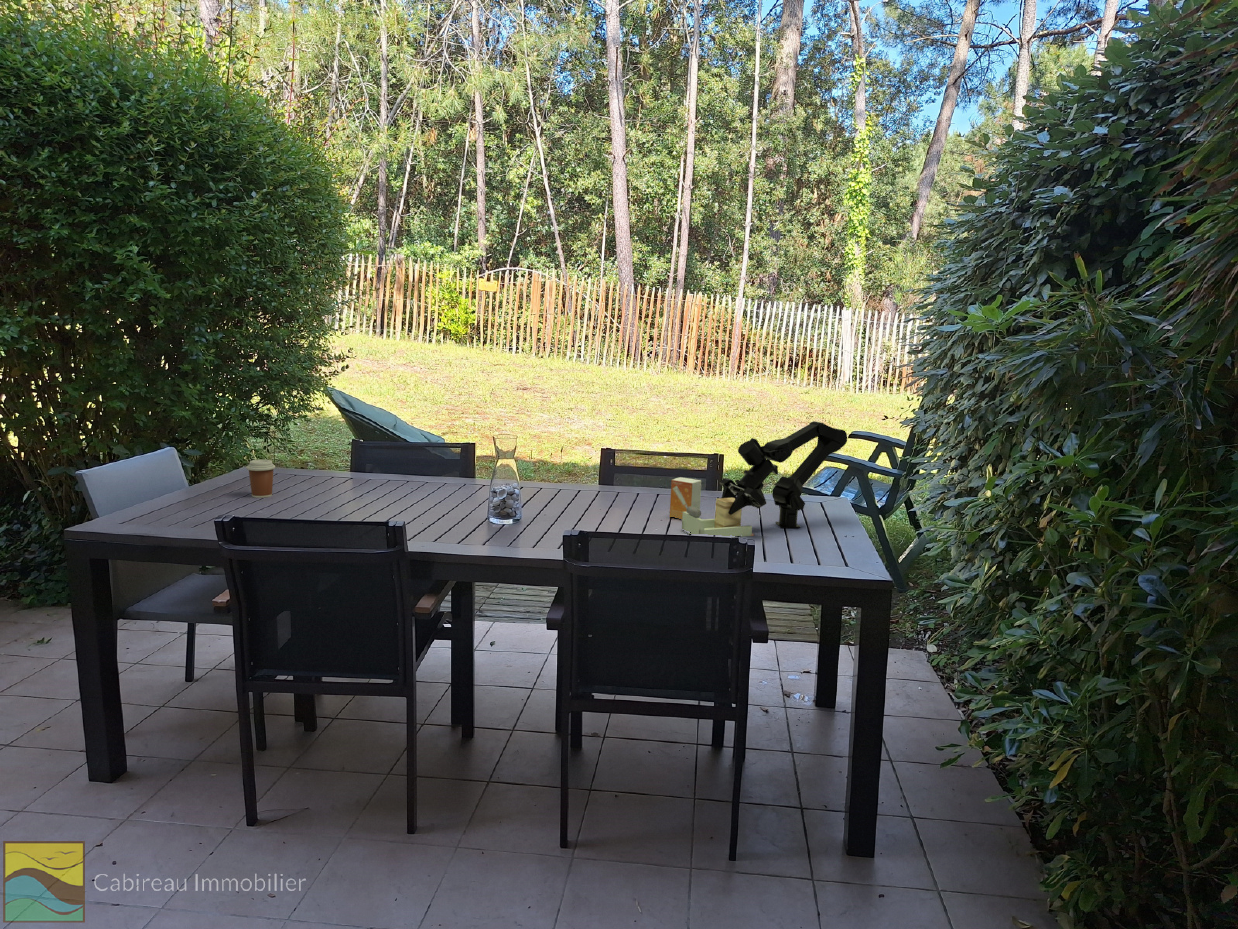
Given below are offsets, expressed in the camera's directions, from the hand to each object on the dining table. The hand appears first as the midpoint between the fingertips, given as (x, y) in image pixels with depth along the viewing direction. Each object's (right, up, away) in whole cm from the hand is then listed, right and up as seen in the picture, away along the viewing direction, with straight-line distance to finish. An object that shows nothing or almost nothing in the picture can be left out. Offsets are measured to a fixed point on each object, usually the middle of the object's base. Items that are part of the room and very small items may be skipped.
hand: (724, 511), depth 273 cm
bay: (-2, -7, 0) cm, 7 cm away
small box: (-11, -3, +18) cm, 21 cm away
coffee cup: (-154, +4, +28) cm, 157 cm away
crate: (+1, -6, +2) cm, 7 cm away
